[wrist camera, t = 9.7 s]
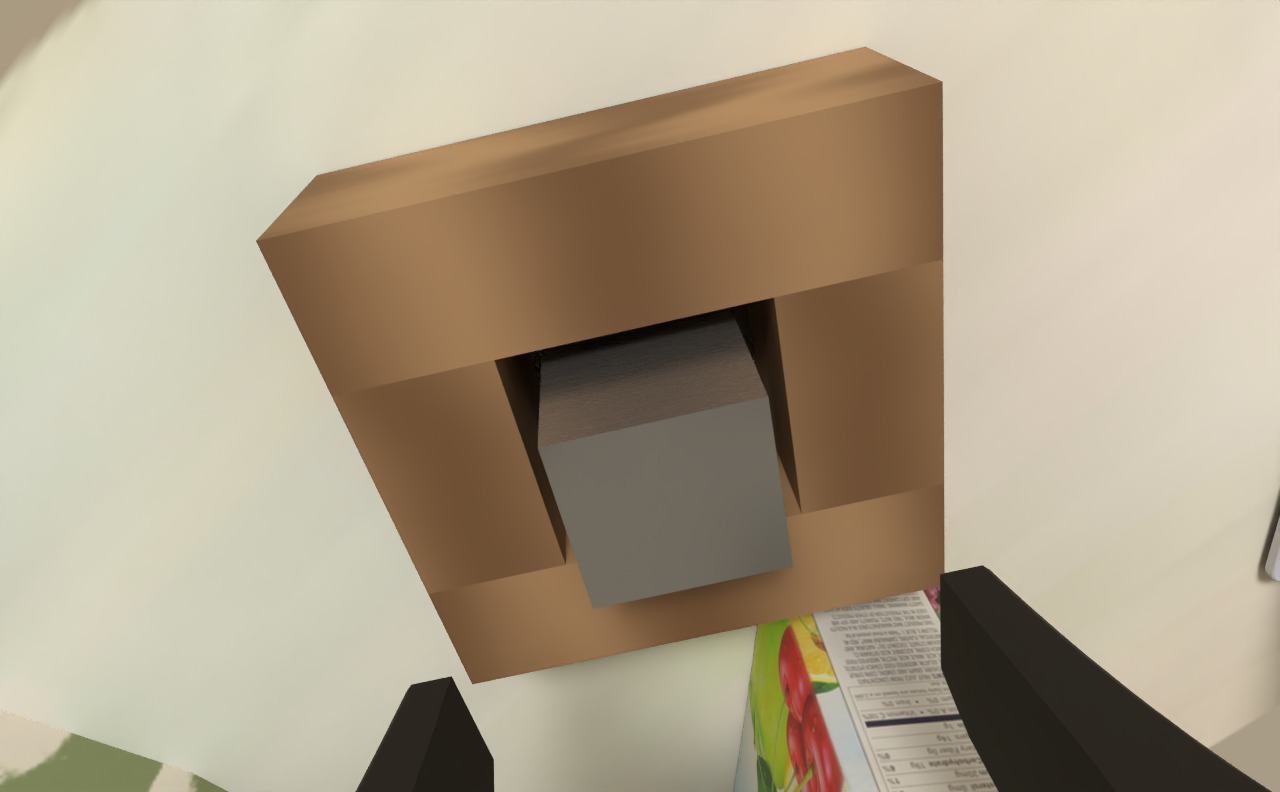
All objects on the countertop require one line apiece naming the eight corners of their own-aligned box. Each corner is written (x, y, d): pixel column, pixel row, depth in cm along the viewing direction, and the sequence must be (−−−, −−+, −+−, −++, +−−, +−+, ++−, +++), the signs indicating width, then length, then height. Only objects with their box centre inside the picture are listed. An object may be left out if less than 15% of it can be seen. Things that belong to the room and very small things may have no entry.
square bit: (708, 254, 19) (768, 396, 13) (732, 394, 21) (793, 566, 16) (544, 292, 19) (537, 447, 14) (585, 426, 21) (593, 609, 16)
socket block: (865, 47, 17) (942, 81, 13) (887, 486, 23) (944, 585, 20) (316, 175, 17) (256, 241, 14) (485, 572, 24) (472, 684, 20)
